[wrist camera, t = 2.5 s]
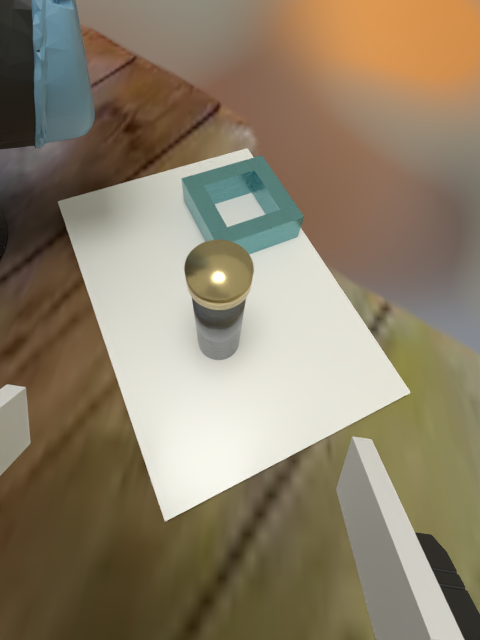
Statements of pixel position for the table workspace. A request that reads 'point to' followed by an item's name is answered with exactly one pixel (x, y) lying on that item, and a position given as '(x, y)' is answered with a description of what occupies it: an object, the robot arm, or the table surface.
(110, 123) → the table surface
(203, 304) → the gold capped grey cylinder
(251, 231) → the teal square frame
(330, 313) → the board
